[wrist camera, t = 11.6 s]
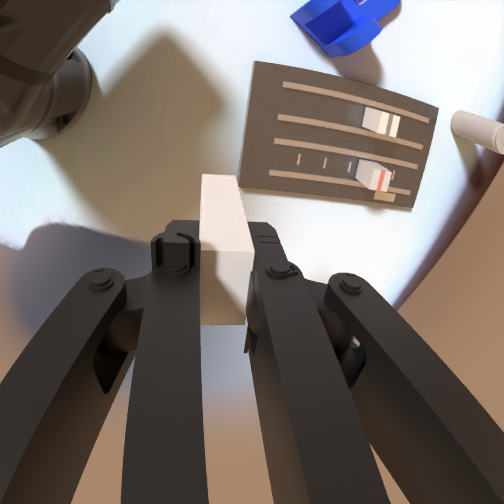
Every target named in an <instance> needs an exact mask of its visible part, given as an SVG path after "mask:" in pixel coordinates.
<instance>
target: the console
mask: <svg viewBox="0 0 504 504" xmlns="http://www.w3.org/2000/svg"><path fill="white" fill-rule="evenodd" d="M366 107H368V108H372V109H375V110H379V111H383V112H386V113H390V114H394V115H396V116H399V117H400V121H399V125H398V130H397V134H396V137H392V136H386V135H384V134H380V133H377V132H374V131H372V130H370V129H367V128H365V127H362V123H363V118H364V113H365V108H366ZM438 110H439V108H437V107H435V106H432V105H429V104H427V103H424V102H421V101H419V100H416V99H413V98H410V97H407V96H404V95H402V94H399V93H395V92H392V91H389V90H386V89H383V88H380V87H376V86H373V85H369V84H366V83H362V82H359V81H355V80H351V79H347V78H343V77H339V76H335V75H331V74H326V73H322V72H317V71H312V70H308V69H302V68H297V67H292V66H286V65H280V64H274V63H267V62H260V61H253V66H252V73H251V81H250V88H249V95H248V102H247V110H246V117H245V125H244V133H243V140H242V148H241V156H240V164H239V172H238V180H237V183H238V187H249V188H260V189H271V190H281V191H291V192H300V193H309V194H318V195H326V196H335V197H342V198H350V199H358V200H365V201H372V202H379V203H386V204H392V205H399V206H405V207H411V208H413V206H414V203H415V200H416V196H417V193H418V190H419V186H420V183H421V179H422V176H423V172H424V169H425V165H426V161H427V157H428V154H429V150H430V146H431V142H432V137H433V133H434V129H435V124H436V120H437V115H438ZM359 159H362V160H367V161H372V162H377V163H378V164H380V165H381V166H383V167H384V168H386V169H388V170H389V171H391V172H392V174H391V178H390V182H389V186H388V189H387V192H383V191H380V192H379V191H376V190H371V189H368V188H367V187H366V186H365V185H363V184H362V183H361V182H360V181H359V180H357V179H356V178H355V176H356V172H357V168H358V163H359Z"/></svg>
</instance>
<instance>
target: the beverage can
mask: <svg viewBox="0 0 504 504" xmlns="http://www.w3.org/2000/svg"><path fill="white" fill-rule="evenodd" d="M451 127H452V130H453V132H454V133H455V134H456V135H457V136H460V137H462V138H465V139H467V140H469V141H472V142H474V143H477V144H479V145H481V146H484V147H486V148H488V149H490V150H492V151H495V152H497V153H499V154H504V124H502V123H499V122H496V121H493V120H490V119H487V118H484V117H481V116H478V115H475V114H471V113H468V112H465V111H457V112H456V113H454V115H453V116H452V119H451Z"/></svg>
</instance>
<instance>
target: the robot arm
mask: <svg viewBox="0 0 504 504" xmlns="http://www.w3.org/2000/svg"><path fill="white" fill-rule="evenodd" d="M119 1H120V0H0V148H1V147H3V146H5V145H7V144H9V143H11V142H14V141H16V140H18V139H20V138H22V137H25V138H30V139H47V138H50V137H53V136H55V135H58V134H60V133H62V132H64V131H65V130H67V129H68V128H70V127H71V126H72V125H73V124H74V123H75V122H76V121H77V120H78V118H79V117H80V116H81V114H82V113H83V111H84V109H85V107H86V105H87V102H88V100H89V96H90V92H91V82H92V80H91V70H90V66H89V63H88V61H87V59H86V57H85V56H84V54H83V53H82V52H81V51H80V49H78V48H77V46H78V44H79V43H80V42H81V41H82V40H83V39H84V38H85V36H86V35H87V34H88V33H89V32H90V31H91V30H92V29H93V28H94V26H95V25H96V24H97V23H98V22H99V21H100V20H101V19H102V18H103V17H104V16H105V15H106V14H107V13H111V12H112V11H113V9H114V7H115V5H116V4H117V3H118V2H119ZM280 243H281V242H280V240H279V238H278V235H277V232H276V230H275V229H274V228H273V227H272V226H271V225H270V224H268V223H267V222H247V219H246V215H245V211H244V207H243V204H242V200H241V196H240V192H239V188H238V184H237V180H236V176H234V175H214V174H202V186H201V205H200V221H193V220H173V221H171V222H170V223H169V224H168V225H167V226H166V229H165V232H163V233H160V234H158V235H157V236H155V237H154V238H153V239H152V241H151V256H152V272H151V273H149V274H148V275H146V276H143V277H140V278H137V279H131V280H125V279H124V276H123V275H122V274H121V273H120V272H119V271H116V270H114V269H109V268H100V269H95V270H93V271H90V272H88V273H86V274H85V275H84V276H82V277H81V278H80V279H79V281H78V282H77V283H76V284H75V285H74V286H73V288H72V289H71V290H70V291H69V292H68V294H67V295H66V296H65V297H64V299H63V300H62V301H61V302H60V304H59V305H58V306H57V307H56V308H55V310H54V311H53V312H52V313H51V315H50V316H49V317H48V318H47V320H46V321H45V322H44V324H43V325H42V326H41V328H40V329H39V330H38V331H37V333H36V334H35V335H34V337H33V338H32V339H31V341H30V342H29V343H28V345H27V346H26V347H25V349H24V350H23V352H22V353H21V354H20V356H19V357H18V359H17V360H16V361H15V363H14V364H13V366H12V367H11V369H10V370H9V371H8V373H7V374H6V376H5V377H4V379H3V380H2V382H1V383H0V504H71V501H72V499H73V496H74V493H75V491H76V488H77V486H78V483H79V480H80V478H81V476H82V473H83V471H84V468H85V466H86V463H87V461H88V459H89V456H90V454H91V451H92V449H93V447H94V444H95V442H96V440H97V437H98V435H99V433H100V430H101V428H102V426H103V423H104V421H105V419H106V417H107V414H108V412H109V410H110V408H111V406H112V403H113V401H114V399H115V397H116V395H117V392H118V390H119V388H120V386H121V384H122V381H123V380H124V378H125V375H126V373H127V371H128V369H129V367H130V365H131V363H132V361H133V359H134V356H135V354H136V356H135V362H134V369H133V376H132V383H131V390H130V398H129V406H128V414H127V424H126V433H125V444H124V456H123V470H122V487H121V504H209V500H208V488H207V476H206V463H205V447H204V430H203V411H202V410H203V409H202V384H201V347H200V325H245V319H246V315H247V321H248V328H247V334H246V342H245V348H244V353H247V352H248V351H249V357H250V364H251V370H252V376H253V383H254V389H255V395H256V402H257V408H258V414H259V420H260V426H261V432H262V437H263V444H264V450H265V455H266V461H267V467H268V473H269V479H270V484H271V490H272V495H273V501H274V504H391V503H390V501H389V499H388V496H387V493H386V489H385V487H384V484H383V481H382V478H381V475H380V472H379V469H378V466H377V464H376V461H375V458H374V455H373V452H372V449H371V447H370V444H371V446H372V447H373V449H374V450H375V452H376V453H377V455H378V456H379V458H380V459H381V461H382V462H383V464H384V465H385V467H386V468H387V469H388V471H389V472H390V474H391V476H392V477H393V479H394V480H395V482H396V483H397V485H398V486H399V487H400V489H401V491H402V492H403V494H404V495H405V497H406V498H407V500H408V501H409V503H410V504H504V432H503V431H502V430H501V429H500V427H499V426H498V425H497V424H496V423H495V421H494V420H493V419H492V418H491V417H490V415H489V414H488V413H487V412H486V410H485V409H484V408H483V407H482V405H481V404H480V403H479V402H478V401H477V400H476V398H475V397H474V396H473V395H472V394H471V393H470V391H469V390H468V389H467V388H466V387H465V386H464V384H463V383H462V382H461V381H460V380H459V379H458V378H457V376H456V375H455V374H454V373H453V372H452V371H451V370H450V369H449V368H448V366H447V365H446V364H445V363H444V362H443V361H442V360H441V359H440V357H439V356H438V355H437V354H436V353H435V352H434V351H433V350H432V349H431V347H430V346H429V345H428V344H427V343H426V342H425V341H424V340H423V339H422V338H421V337H420V336H419V335H418V333H417V332H416V331H415V330H414V329H413V328H412V327H411V326H410V325H409V324H408V323H407V322H406V321H405V320H404V319H403V318H402V317H401V316H400V315H399V313H398V312H397V311H396V310H395V309H394V308H393V307H392V306H391V305H390V304H389V303H388V302H387V301H386V300H385V299H384V298H383V297H382V296H381V295H380V294H379V293H378V292H377V291H376V290H375V289H374V288H373V287H372V286H371V285H370V284H369V283H368V282H367V281H366V280H364V279H363V278H361V277H359V276H357V275H355V274H350V273H337V274H334V275H332V276H331V278H330V279H329V282H328V284H324V283H319V282H315V281H311V280H307V279H305V278H304V277H303V274H302V272H301V270H300V269H299V268H298V266H296V265H295V264H293V263H291V262H289V261H288V260H287V257H286V255H285V252H284V250H283V247H282V245H281V244H280ZM354 336H355V338H356V339H357V340H358V341H359V342H360V346H359V347H358V346H357V345H356V344H355V343H354V342H353V339H354ZM369 443H370V444H369Z"/></svg>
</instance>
